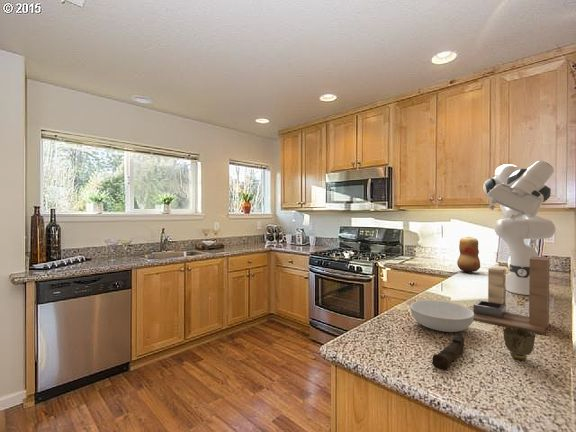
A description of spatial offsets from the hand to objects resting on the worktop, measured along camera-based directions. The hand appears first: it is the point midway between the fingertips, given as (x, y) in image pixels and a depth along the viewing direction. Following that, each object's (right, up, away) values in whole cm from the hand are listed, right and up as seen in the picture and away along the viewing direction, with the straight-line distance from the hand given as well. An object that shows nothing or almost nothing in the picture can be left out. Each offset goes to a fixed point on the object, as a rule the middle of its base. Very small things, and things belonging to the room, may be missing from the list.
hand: (500, 213), depth 136 cm
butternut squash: (+31, -41, +76) cm, 92 cm away
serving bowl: (-40, -42, -25) cm, 63 cm away
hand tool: (-49, -42, -48) cm, 81 cm away
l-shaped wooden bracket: (-12, -41, -18) cm, 47 cm away
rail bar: (-6, -41, -7) cm, 42 cm away
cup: (-29, -42, -49) cm, 71 cm away
